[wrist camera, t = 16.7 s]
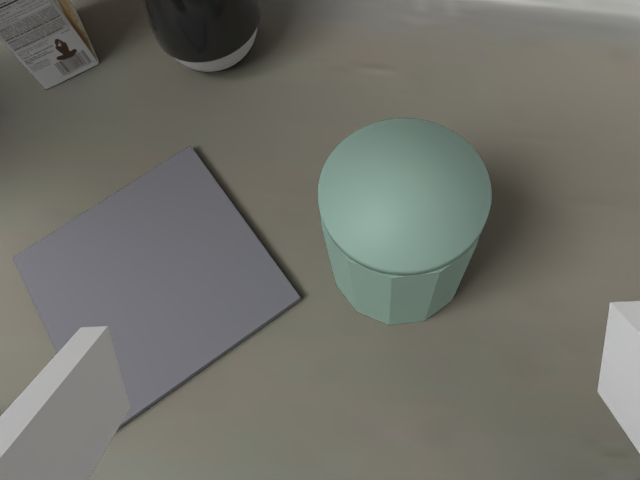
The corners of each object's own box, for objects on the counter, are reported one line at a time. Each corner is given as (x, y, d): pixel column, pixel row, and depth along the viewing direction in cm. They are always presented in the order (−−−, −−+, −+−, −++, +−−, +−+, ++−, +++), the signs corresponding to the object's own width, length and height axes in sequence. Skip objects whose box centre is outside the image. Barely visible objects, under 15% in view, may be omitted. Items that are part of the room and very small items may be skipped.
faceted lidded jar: (310, 250, 42) (285, 177, 31) (406, 184, 44) (415, 91, 33) (385, 349, 38) (387, 305, 27) (489, 273, 40) (530, 202, 29)
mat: (17, 260, 45) (12, 257, 44) (192, 149, 47) (190, 145, 47) (101, 441, 38) (98, 441, 37) (301, 299, 41) (300, 297, 40)
